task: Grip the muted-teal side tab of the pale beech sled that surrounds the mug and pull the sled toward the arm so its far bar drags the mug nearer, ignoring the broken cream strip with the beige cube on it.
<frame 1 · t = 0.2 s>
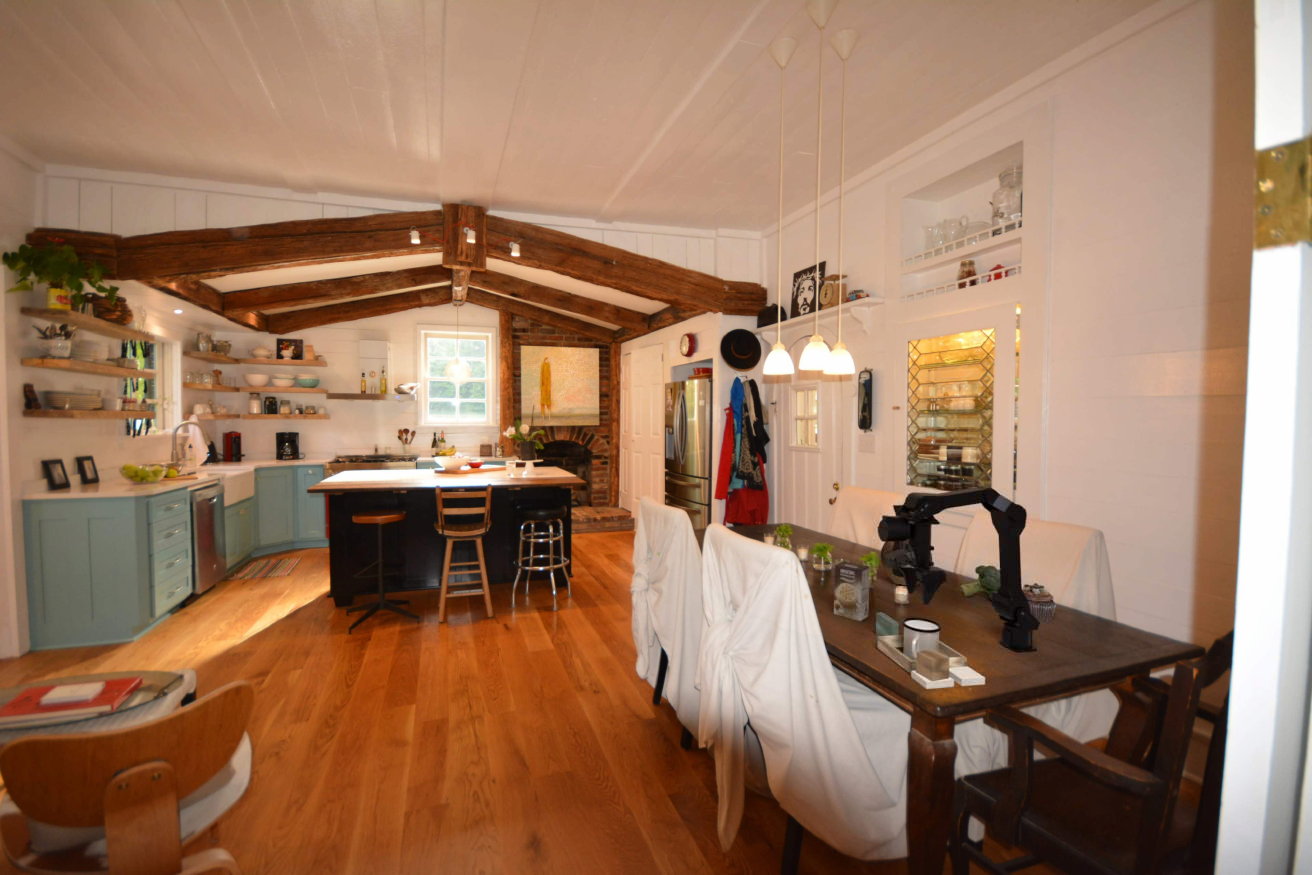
hand: (917, 598, 154), 14 cm above the table, fingers open, 9 cm apart
broken cream strip: (949, 680, 138), on the table
vegetable: (984, 599, 198), on the table
cupcake: (1037, 617, 181), on the table
mug: (919, 659, 150), resting in beech sled
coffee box: (851, 615, 183), on the table
beige cube: (932, 675, 138), point 2 cm above the table, touching broken cream strip
ceramic vessel: (905, 584, 216), on the table
beech sled: (910, 639, 154), point 4 cm above the table, slide at 0.0 cm
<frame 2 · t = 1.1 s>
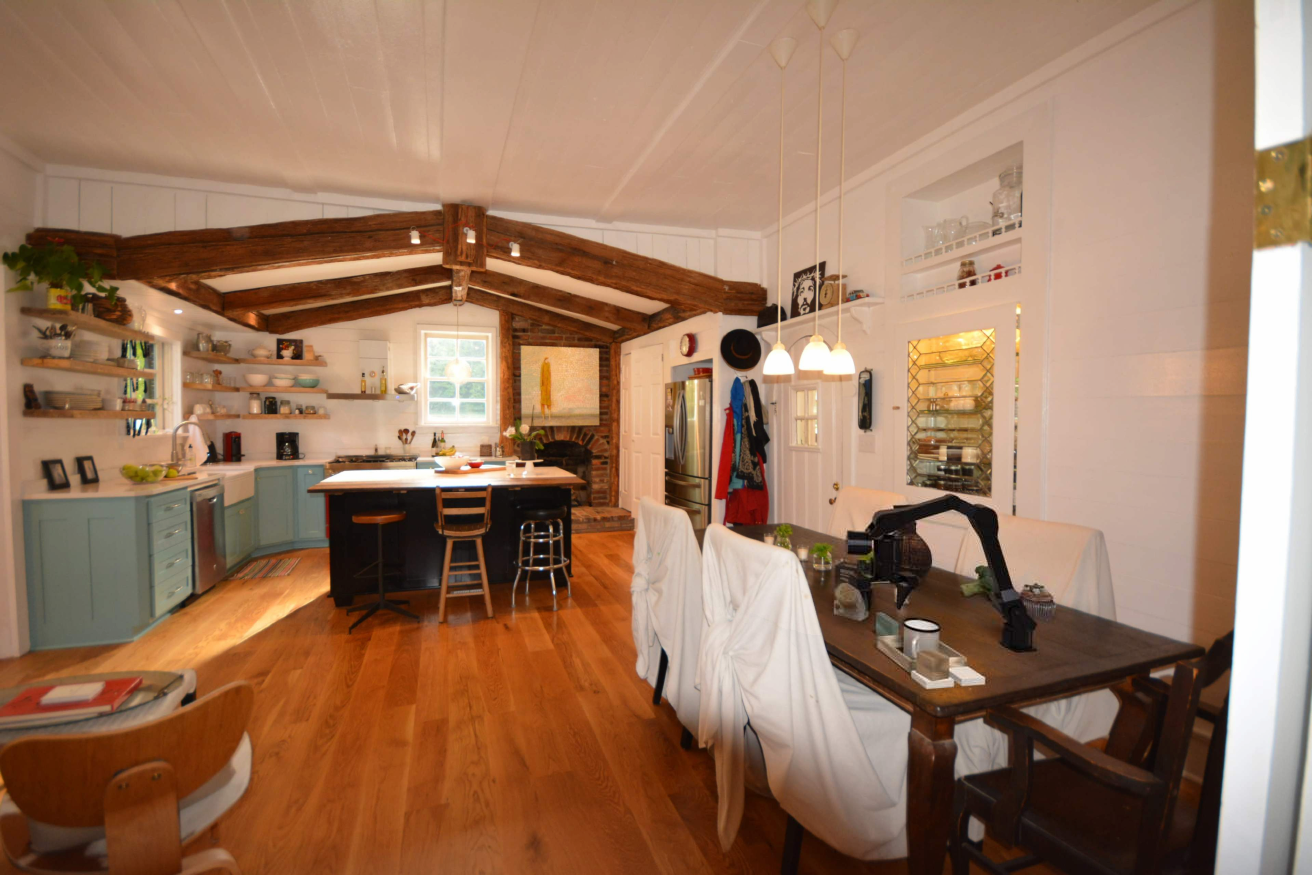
hand: (883, 610, 164), 8 cm above the table, fingers open, 9 cm apart
nothing on the table moved.
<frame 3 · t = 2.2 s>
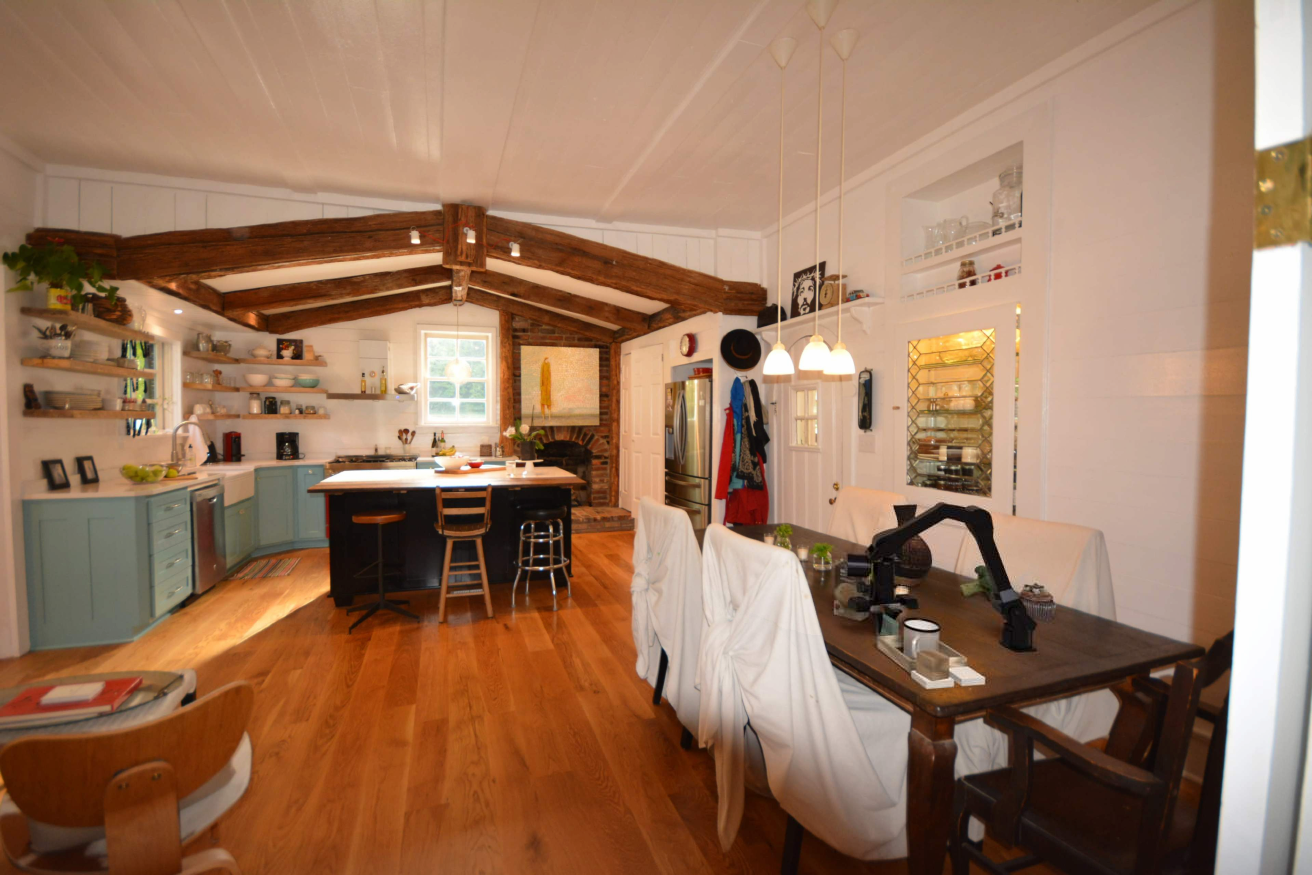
hand: (882, 632, 164), 2 cm above the table, fingers closed, pressing on beech sled
beech sled: (910, 639, 154), point 4 cm above the table, slide at 0.0 cm, touching gripper
everything else where it was.
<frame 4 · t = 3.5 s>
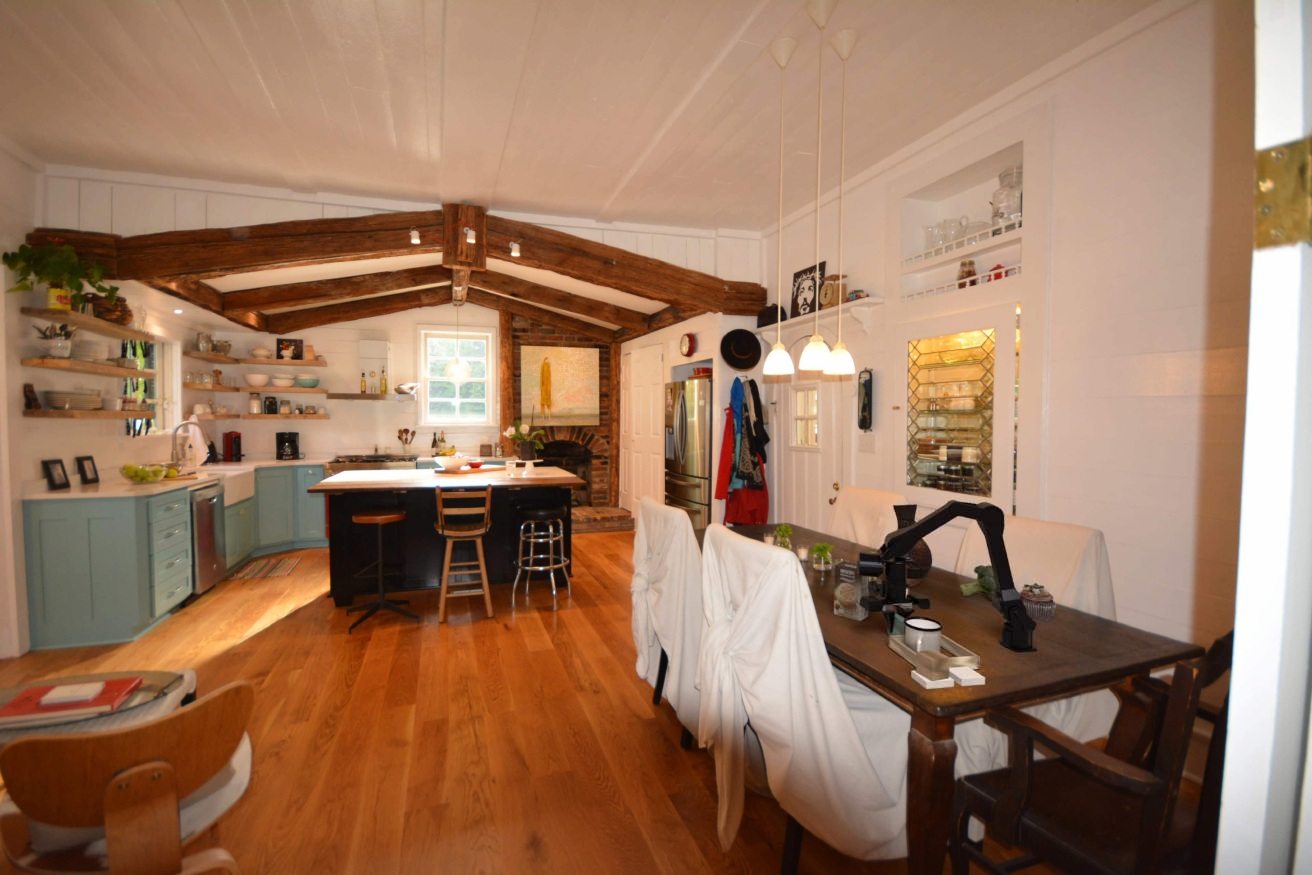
hand: (894, 632, 165), 1 cm above the table, fingers closed, pressing on beech sled
mug: (921, 658, 151), resting in beech sled
beech sled: (922, 638, 155), point 4 cm above the table, slide at 3.5 cm, touching gripper
everything else where it was.
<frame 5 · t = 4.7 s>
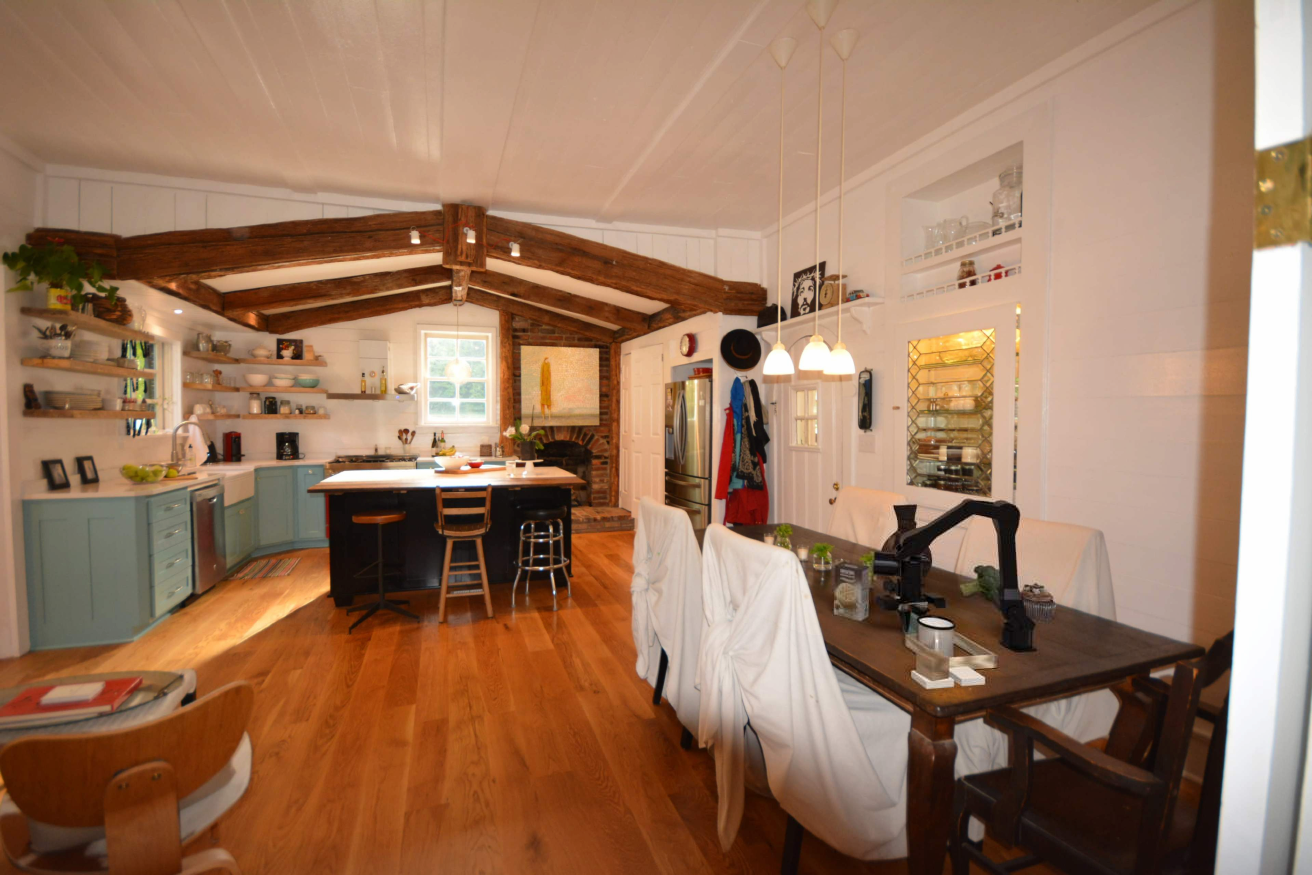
hand: (909, 631, 165), 1 cm above the table, fingers closed on beech sled, 2 cm apart
mug: (935, 657, 152), resting in beech sled
beech sled: (938, 637, 156), point 4 cm above the table, slide at 8.3 cm, touching gripper
everything else where it was.
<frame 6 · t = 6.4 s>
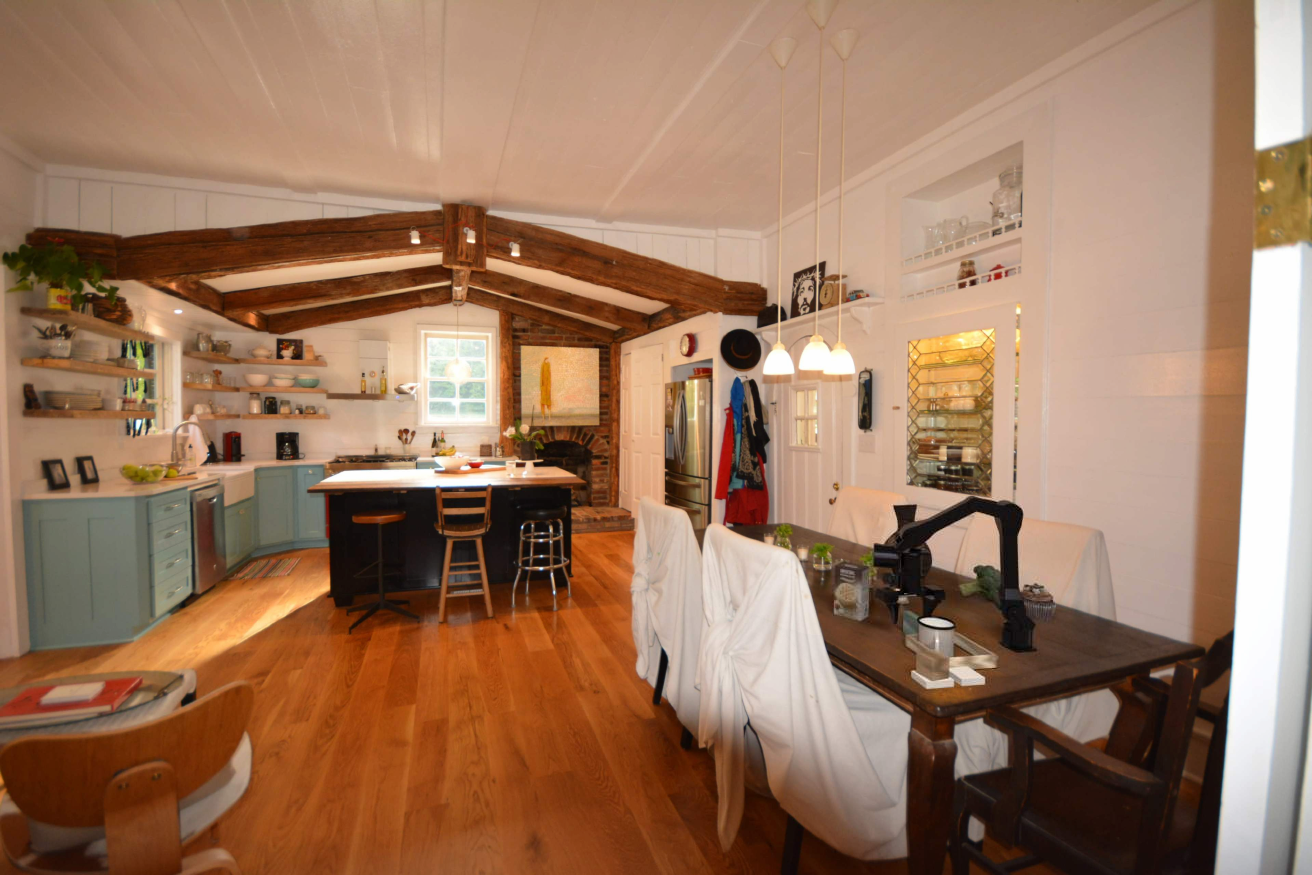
hand: (909, 623, 165), 4 cm above the table, fingers open, 9 cm apart
beech sled: (939, 637, 156), point 4 cm above the table, slide at 8.4 cm
everything else where it was.
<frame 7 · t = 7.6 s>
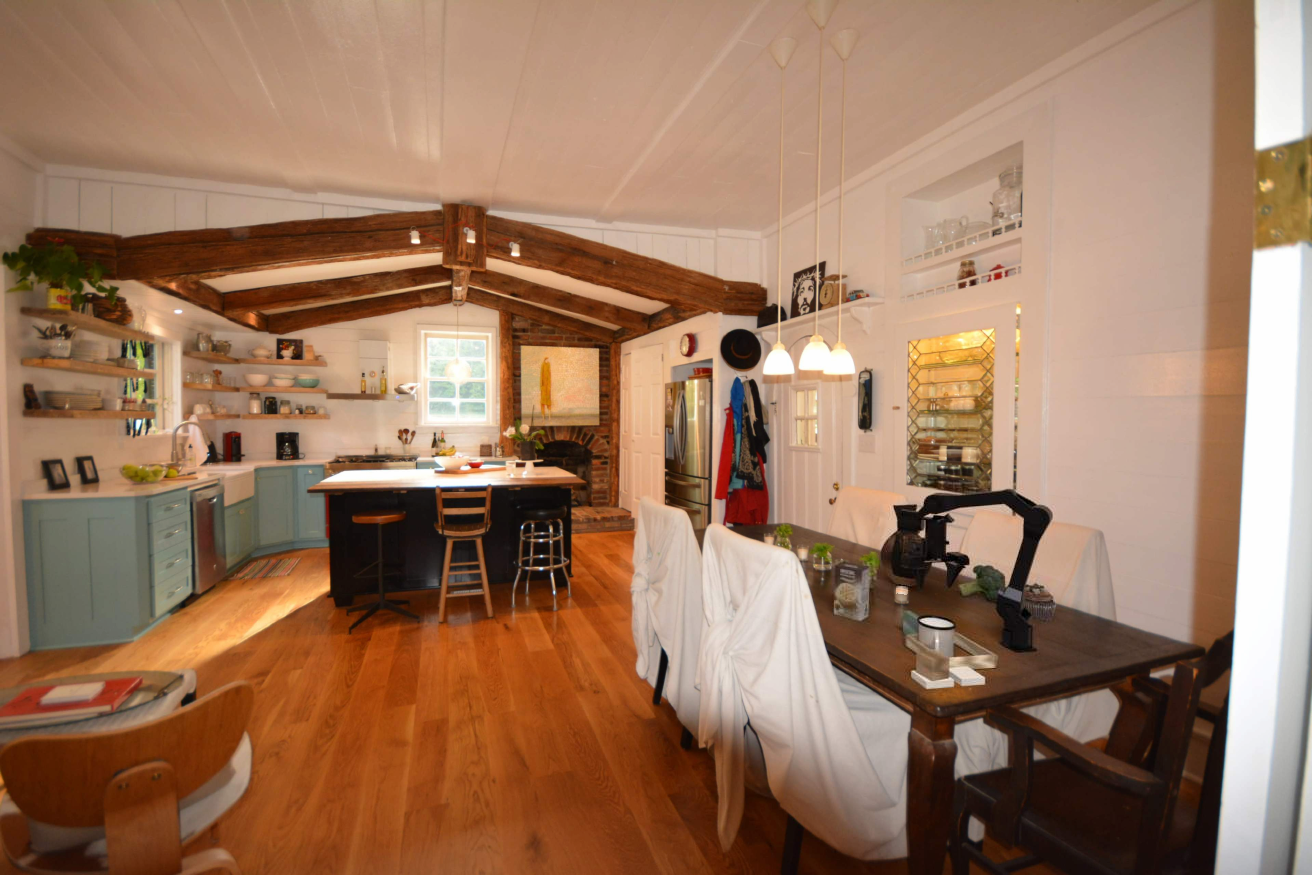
hand: (934, 588, 171), 12 cm above the table, fingers open, 9 cm apart
mug: (935, 657, 152), resting in beech sled
beech sled: (939, 637, 156), point 4 cm above the table, slide at 8.4 cm, touching mug
everything else where it was.
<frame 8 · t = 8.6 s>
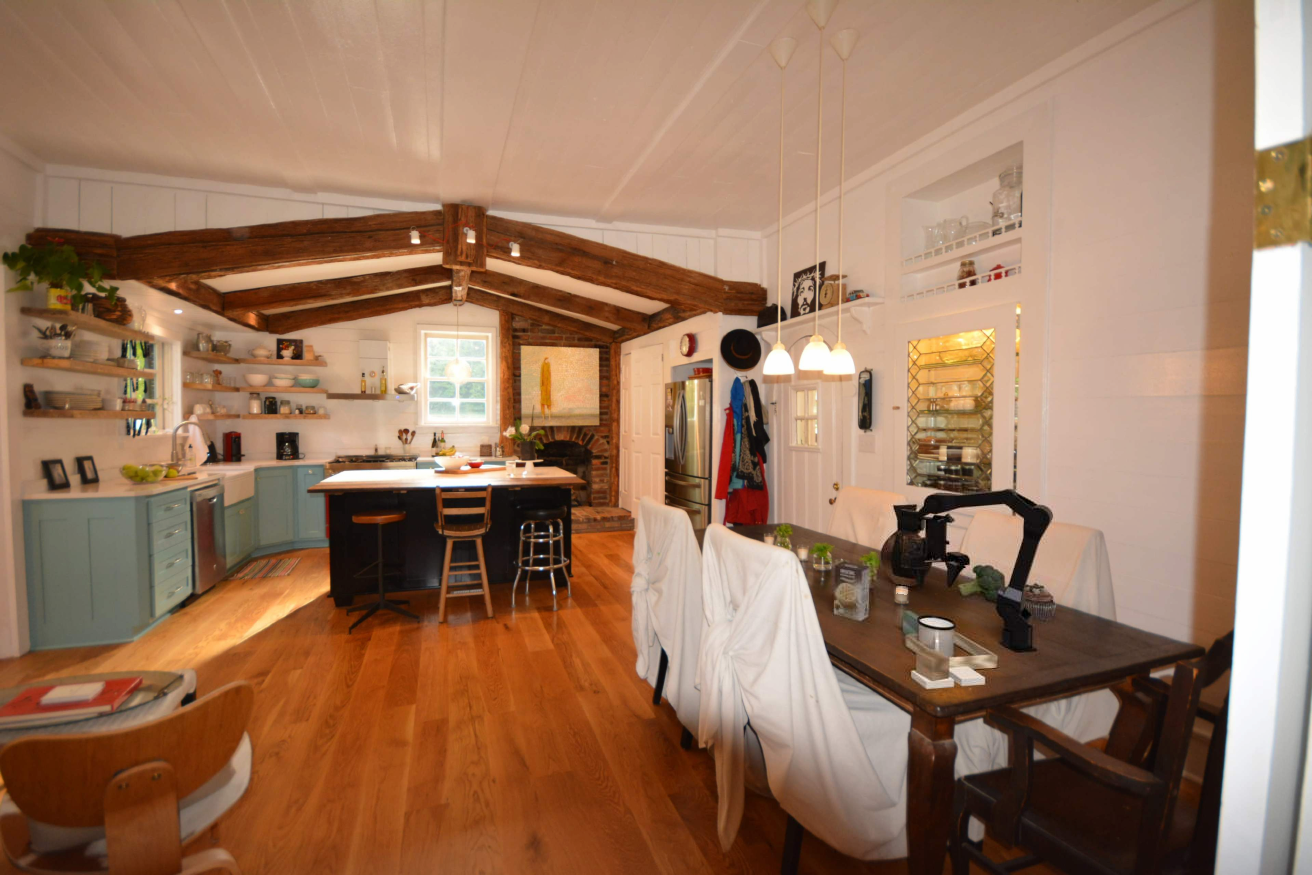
hand: (934, 588, 171), 12 cm above the table, fingers open, 9 cm apart
nothing on the table moved.
at the end: beech sled slide at 8.4 cm; mug inside the target area (3.2 cm from its centre), resting in beech sled; mug tilted 0° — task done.
